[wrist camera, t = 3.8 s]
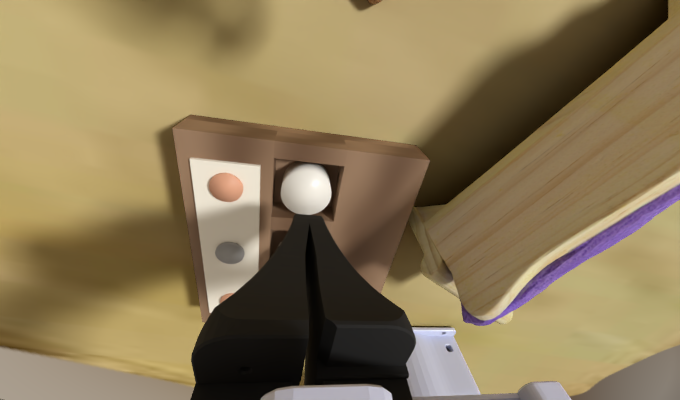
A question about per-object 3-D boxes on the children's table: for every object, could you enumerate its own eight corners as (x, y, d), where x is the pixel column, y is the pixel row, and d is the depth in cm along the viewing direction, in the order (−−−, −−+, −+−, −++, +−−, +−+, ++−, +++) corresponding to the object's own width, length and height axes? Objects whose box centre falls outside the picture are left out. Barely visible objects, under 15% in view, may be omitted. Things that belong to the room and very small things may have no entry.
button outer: (332, 162, 17) (335, 174, 15) (325, 202, 18) (327, 216, 17) (284, 156, 16) (282, 169, 15) (281, 198, 18) (279, 212, 16)
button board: (415, 145, 18) (430, 160, 16) (364, 300, 26) (369, 323, 24) (190, 114, 15) (172, 128, 13) (211, 296, 24) (202, 322, 22)
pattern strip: (260, 165, 15) (259, 168, 15) (257, 311, 22) (256, 315, 21) (190, 157, 14) (187, 160, 14) (210, 310, 21) (208, 315, 21)
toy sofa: (456, 260, 25) (534, 382, 16) (392, 214, 21) (450, 341, 13) (713, 68, 17) (1108, 106, 9) (684, -52, 14) (1301, -184, 5)
